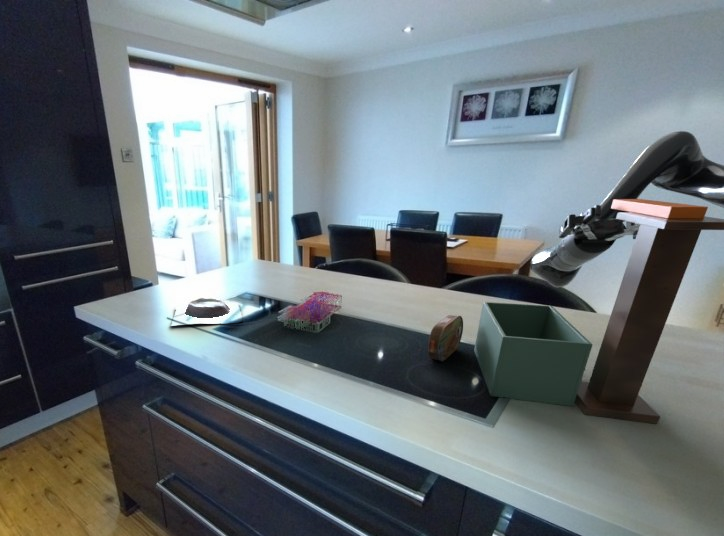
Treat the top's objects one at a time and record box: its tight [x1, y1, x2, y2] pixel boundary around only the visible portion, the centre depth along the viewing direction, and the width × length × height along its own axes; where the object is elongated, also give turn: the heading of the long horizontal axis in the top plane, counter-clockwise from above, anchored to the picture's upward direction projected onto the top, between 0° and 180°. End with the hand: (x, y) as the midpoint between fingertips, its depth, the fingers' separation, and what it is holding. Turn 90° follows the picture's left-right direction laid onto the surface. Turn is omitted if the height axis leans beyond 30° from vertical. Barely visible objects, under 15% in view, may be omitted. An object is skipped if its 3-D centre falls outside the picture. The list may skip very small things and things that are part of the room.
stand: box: [574, 212, 724, 425], centre depth 63 cm, size 10×14×32 cm
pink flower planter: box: [277, 291, 343, 334], centre depth 117 cm, size 30×15×5 cm, turn 150°
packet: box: [611, 198, 709, 219], centre depth 62 cm, size 4×18×2 cm, turn 162°
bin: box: [473, 301, 594, 407], centre depth 78 cm, size 13×21×12 cm, turn 162°
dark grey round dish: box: [185, 297, 230, 318], centre depth 120 cm, size 21×20×4 cm
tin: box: [427, 314, 464, 362], centre depth 88 cm, size 15×3×8 cm, turn 137°
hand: (627, 209), depth 69 cm, fingers open, 8 cm apart
